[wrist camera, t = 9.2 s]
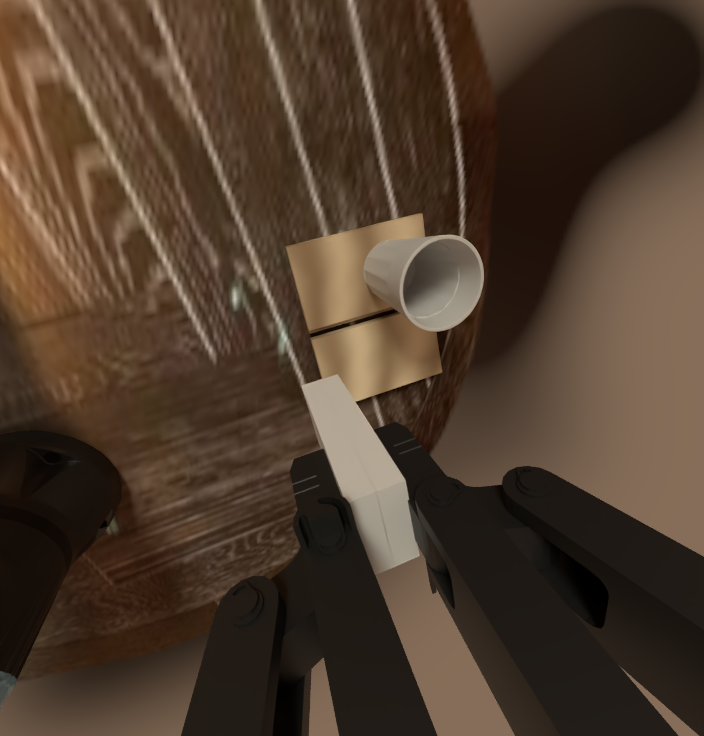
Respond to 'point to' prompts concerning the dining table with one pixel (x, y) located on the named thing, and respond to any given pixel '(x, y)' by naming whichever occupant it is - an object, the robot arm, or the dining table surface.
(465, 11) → the dining table surface
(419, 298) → the cup
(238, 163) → the dining table surface
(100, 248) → the dining table surface
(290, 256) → the tan flat board
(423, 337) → the plank
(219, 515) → the dining table surface
